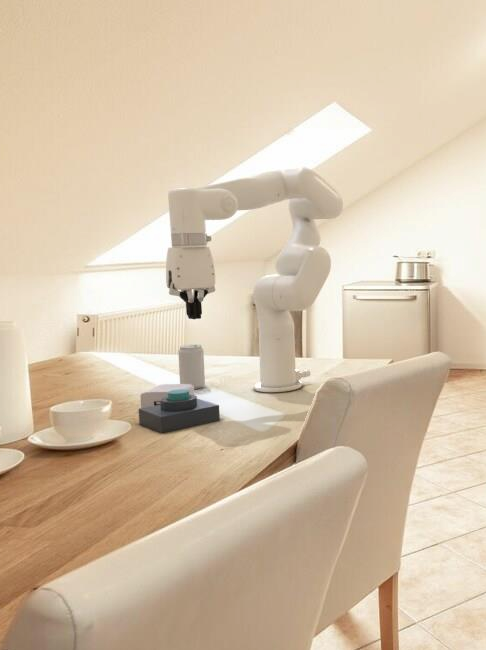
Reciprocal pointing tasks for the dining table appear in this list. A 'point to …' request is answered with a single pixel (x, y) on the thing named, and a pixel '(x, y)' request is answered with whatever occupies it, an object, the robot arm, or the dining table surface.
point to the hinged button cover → (162, 393)
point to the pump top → (178, 395)
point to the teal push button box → (178, 414)
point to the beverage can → (191, 365)
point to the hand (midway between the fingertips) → (194, 318)
